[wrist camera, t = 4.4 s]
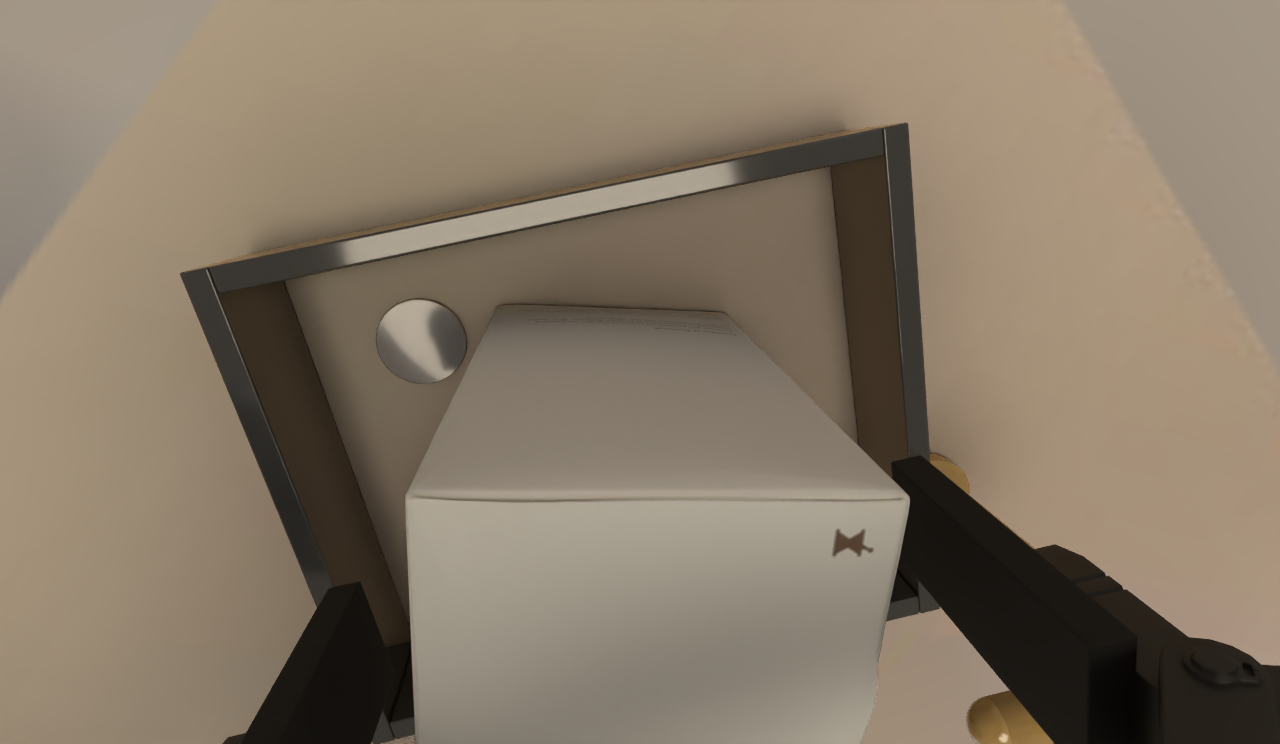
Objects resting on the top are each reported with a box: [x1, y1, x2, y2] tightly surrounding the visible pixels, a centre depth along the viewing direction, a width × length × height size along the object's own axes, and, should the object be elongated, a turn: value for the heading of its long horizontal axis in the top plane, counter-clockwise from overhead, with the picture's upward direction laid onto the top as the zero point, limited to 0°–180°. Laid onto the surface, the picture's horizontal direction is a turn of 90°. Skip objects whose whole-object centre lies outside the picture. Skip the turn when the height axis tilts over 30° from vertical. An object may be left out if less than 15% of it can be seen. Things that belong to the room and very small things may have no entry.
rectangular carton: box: [405, 305, 910, 744], centre depth 19 cm, size 9×9×15 cm
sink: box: [180, 123, 1054, 744], centre depth 21 cm, size 25×18×12 cm
